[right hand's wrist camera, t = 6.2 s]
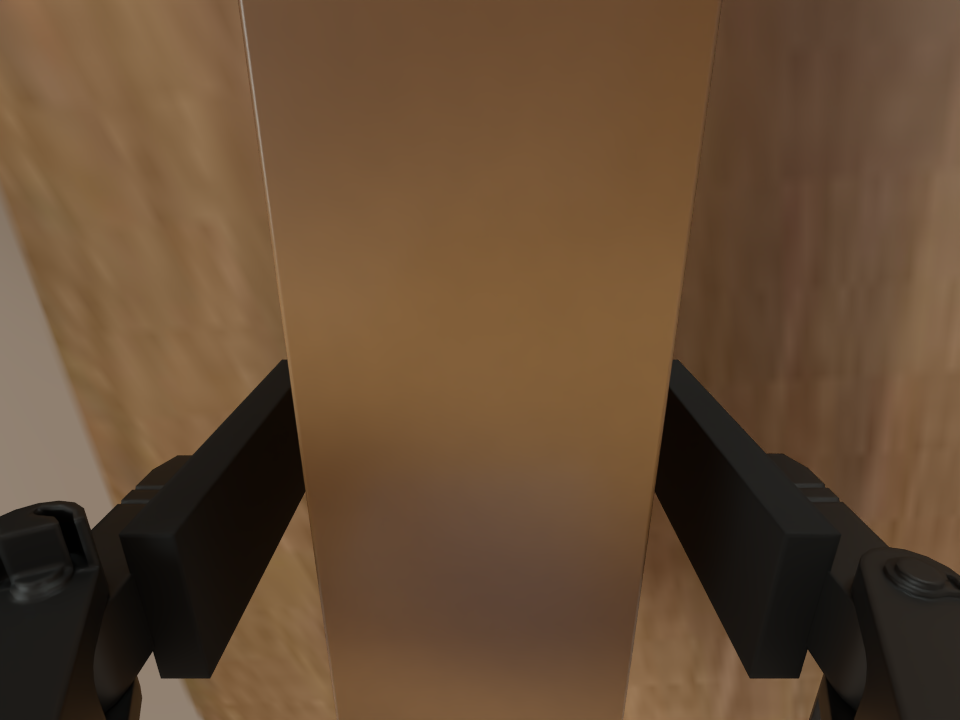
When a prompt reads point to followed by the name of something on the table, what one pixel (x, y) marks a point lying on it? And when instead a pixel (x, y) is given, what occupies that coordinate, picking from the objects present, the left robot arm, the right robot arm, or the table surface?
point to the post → (480, 329)
